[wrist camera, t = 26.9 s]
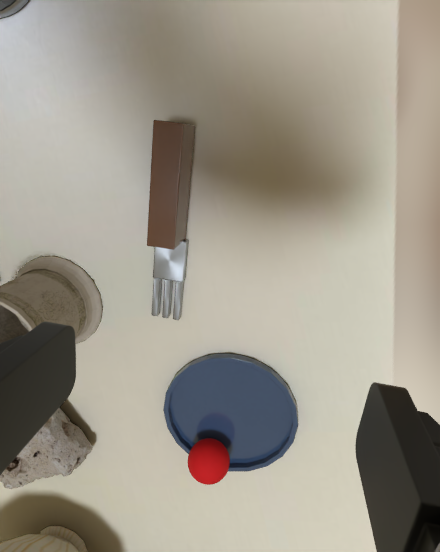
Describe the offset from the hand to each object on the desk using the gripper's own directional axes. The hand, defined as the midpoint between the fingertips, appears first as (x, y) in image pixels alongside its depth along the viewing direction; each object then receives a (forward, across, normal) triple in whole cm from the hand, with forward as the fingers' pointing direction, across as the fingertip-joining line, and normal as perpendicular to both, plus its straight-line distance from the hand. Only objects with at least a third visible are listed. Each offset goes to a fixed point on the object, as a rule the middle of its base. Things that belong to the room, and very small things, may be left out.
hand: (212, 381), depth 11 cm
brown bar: (+26, +8, +2) cm, 27 cm away
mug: (+26, +22, +13) cm, 37 cm away
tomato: (+24, +2, +26) cm, 35 cm away
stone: (+26, +22, +29) cm, 45 cm away
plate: (+26, 0, +21) cm, 34 cm away
